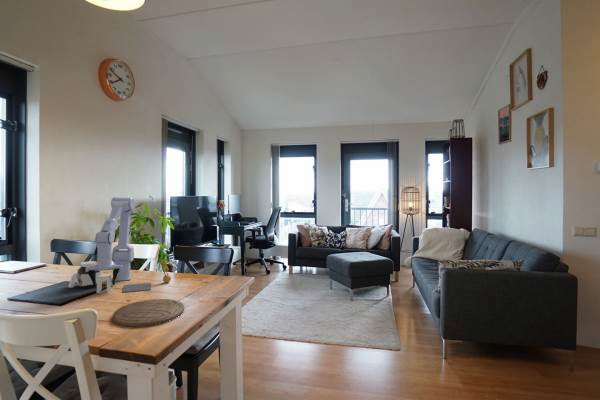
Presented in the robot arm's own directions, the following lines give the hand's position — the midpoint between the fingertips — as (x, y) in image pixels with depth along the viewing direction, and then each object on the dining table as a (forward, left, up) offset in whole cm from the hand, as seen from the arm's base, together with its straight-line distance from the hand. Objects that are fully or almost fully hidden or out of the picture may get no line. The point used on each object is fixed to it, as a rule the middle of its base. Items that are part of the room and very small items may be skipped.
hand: (104, 285), depth 148 cm
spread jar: (-11, -10, -3) cm, 15 cm away
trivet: (+38, +20, -3) cm, 43 cm away
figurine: (-6, +27, -3) cm, 28 cm away
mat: (0, +14, -3) cm, 14 cm away
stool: (0, 0, -3) cm, 3 cm away
